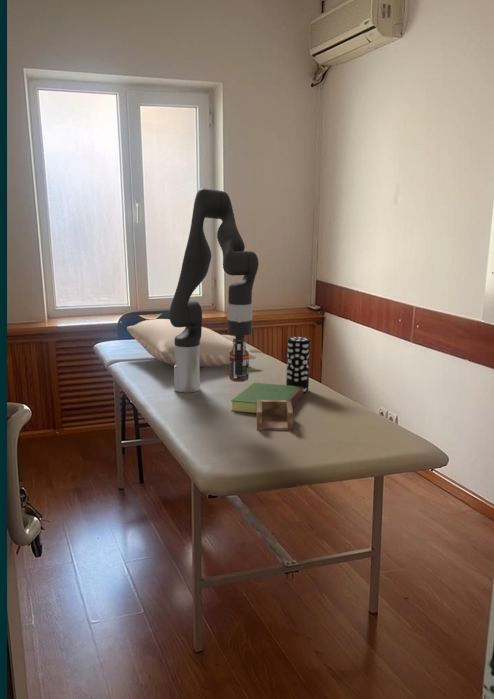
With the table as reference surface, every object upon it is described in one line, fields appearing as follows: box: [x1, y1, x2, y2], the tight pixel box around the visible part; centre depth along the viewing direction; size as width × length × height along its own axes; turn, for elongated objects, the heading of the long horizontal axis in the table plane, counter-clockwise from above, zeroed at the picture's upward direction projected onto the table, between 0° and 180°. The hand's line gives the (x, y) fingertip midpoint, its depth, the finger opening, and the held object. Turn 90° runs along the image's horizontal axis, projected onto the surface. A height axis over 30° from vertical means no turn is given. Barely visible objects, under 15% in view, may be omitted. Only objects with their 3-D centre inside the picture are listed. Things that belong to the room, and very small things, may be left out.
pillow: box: [126, 318, 257, 368], centre depth 265 cm, size 44×18×44 cm
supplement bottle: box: [228, 345, 250, 383], centre depth 188 cm, size 6×6×11 cm
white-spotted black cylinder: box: [285, 336, 311, 395], centre depth 227 cm, size 8×8×20 cm
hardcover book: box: [230, 382, 304, 415], centre depth 214 cm, size 25×19×4 cm
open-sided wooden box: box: [256, 400, 294, 431], centre depth 194 cm, size 11×12×6 cm
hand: (238, 371), depth 189 cm, fingers closed on supplement bottle, 6 cm apart
